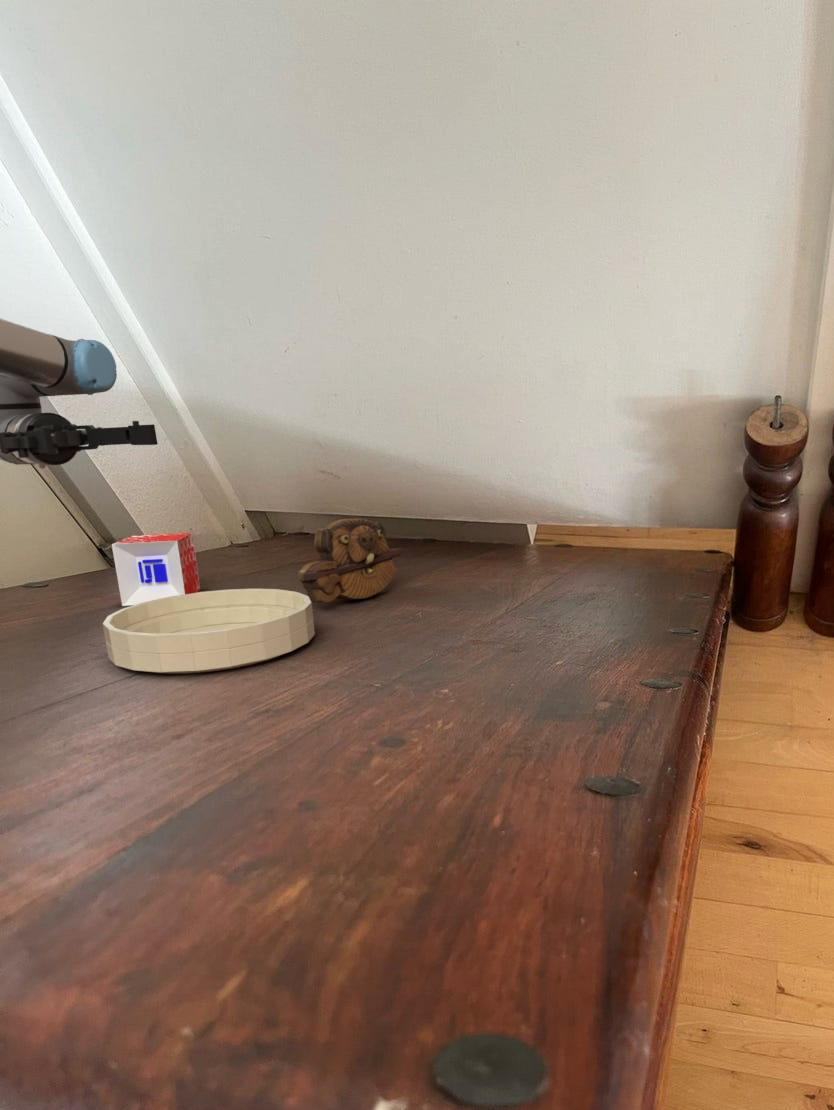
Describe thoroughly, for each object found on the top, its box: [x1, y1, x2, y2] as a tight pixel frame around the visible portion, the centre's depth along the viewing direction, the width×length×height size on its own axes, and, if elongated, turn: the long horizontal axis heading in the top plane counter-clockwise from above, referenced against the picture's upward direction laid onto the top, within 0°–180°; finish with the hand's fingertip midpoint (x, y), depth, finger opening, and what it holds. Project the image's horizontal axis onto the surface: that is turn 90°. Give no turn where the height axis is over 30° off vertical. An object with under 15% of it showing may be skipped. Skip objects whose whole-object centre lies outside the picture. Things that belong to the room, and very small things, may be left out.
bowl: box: [102, 588, 316, 675], centre depth 76 cm, size 19×19×4 cm
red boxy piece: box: [111, 532, 201, 607], centre depth 101 cm, size 8×8×8 cm
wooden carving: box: [297, 518, 403, 604], centre depth 94 cm, size 16×5×10 cm, turn 150°
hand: (103, 437), depth 102 cm, fingers open, 13 cm apart
